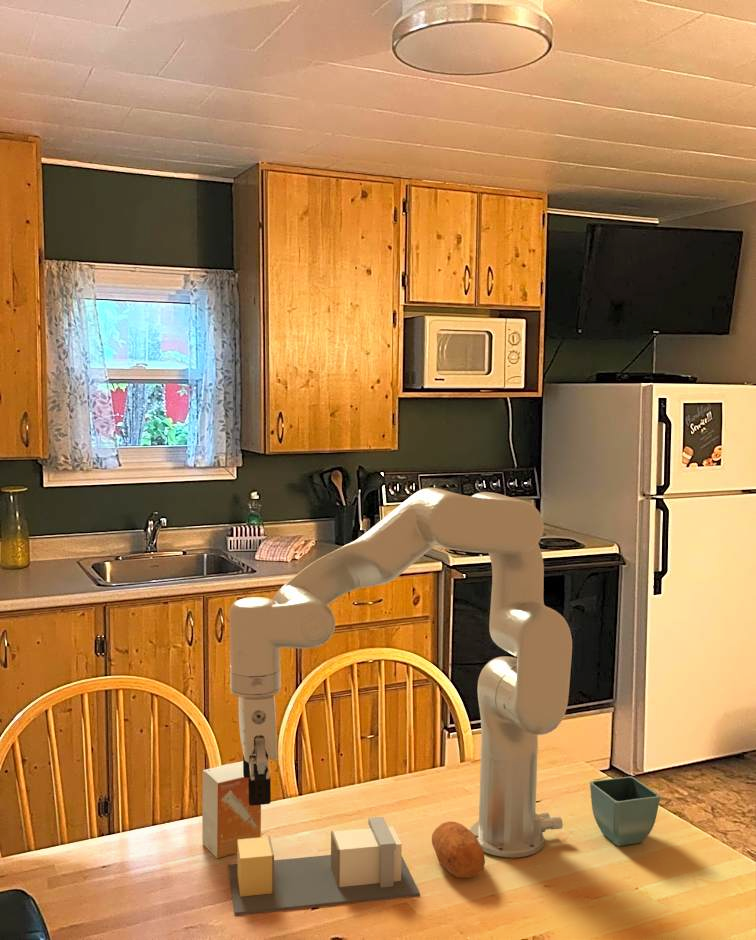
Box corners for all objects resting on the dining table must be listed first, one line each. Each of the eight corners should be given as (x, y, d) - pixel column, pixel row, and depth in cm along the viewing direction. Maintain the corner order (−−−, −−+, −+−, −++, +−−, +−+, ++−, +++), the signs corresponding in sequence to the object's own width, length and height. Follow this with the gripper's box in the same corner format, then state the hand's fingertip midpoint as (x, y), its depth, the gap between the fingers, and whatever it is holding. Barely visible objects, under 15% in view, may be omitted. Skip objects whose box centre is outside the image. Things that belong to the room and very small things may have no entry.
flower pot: (630, 823, 171) (632, 775, 170) (659, 846, 163) (661, 796, 162) (586, 830, 169) (588, 780, 168) (614, 854, 160) (616, 802, 159)
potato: (445, 890, 148) (446, 846, 148) (425, 850, 161) (426, 809, 160) (490, 886, 150) (491, 842, 149) (466, 846, 162) (467, 806, 161)
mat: (398, 850, 160) (398, 848, 160) (419, 895, 147) (420, 893, 147) (228, 867, 154) (228, 864, 154) (234, 915, 141) (234, 912, 141)
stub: (269, 873, 152) (269, 836, 151) (274, 893, 146) (274, 855, 145) (237, 876, 151) (237, 839, 150) (240, 897, 145) (240, 858, 144)
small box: (217, 860, 156) (217, 783, 155) (201, 843, 162) (201, 769, 160) (262, 847, 161) (262, 772, 160) (245, 831, 166) (245, 759, 165)
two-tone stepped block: (389, 857, 157) (390, 816, 157) (403, 886, 149) (404, 842, 148) (329, 863, 155) (329, 821, 154) (339, 892, 146) (339, 848, 146)
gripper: (287, 698, 137) (288, 813, 139) (274, 662, 154) (274, 764, 156) (234, 702, 136) (235, 818, 137) (226, 665, 152) (228, 768, 154)
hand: (256, 789), depth 147 cm, fingers open, 9 cm apart
